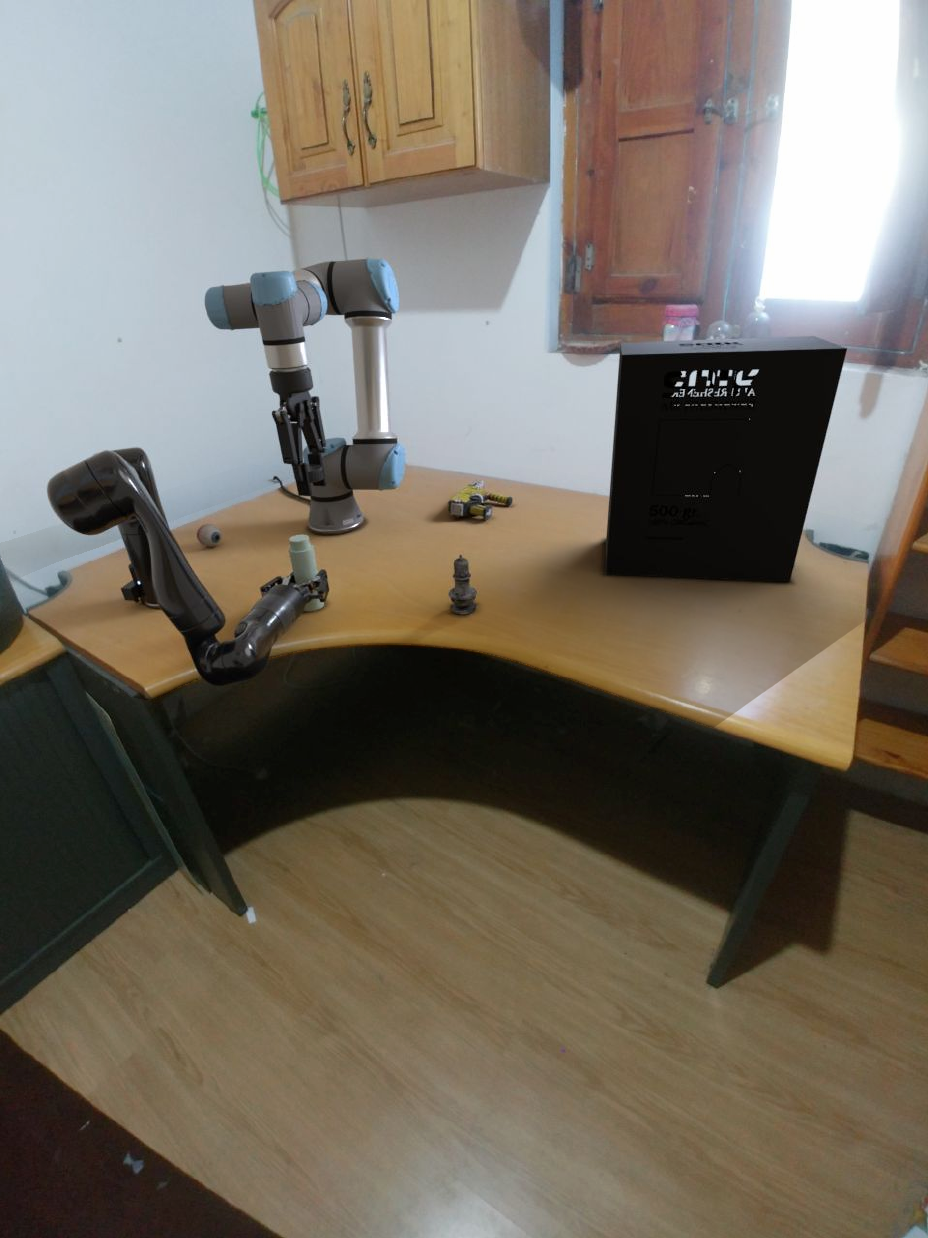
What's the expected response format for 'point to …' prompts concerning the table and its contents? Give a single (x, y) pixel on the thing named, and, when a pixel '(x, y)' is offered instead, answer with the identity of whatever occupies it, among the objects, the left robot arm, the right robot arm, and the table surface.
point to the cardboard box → (717, 455)
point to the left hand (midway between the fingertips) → (311, 573)
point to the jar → (304, 565)
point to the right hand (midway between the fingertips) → (312, 489)
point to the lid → (315, 472)
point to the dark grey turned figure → (462, 588)
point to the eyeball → (209, 535)
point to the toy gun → (475, 501)
